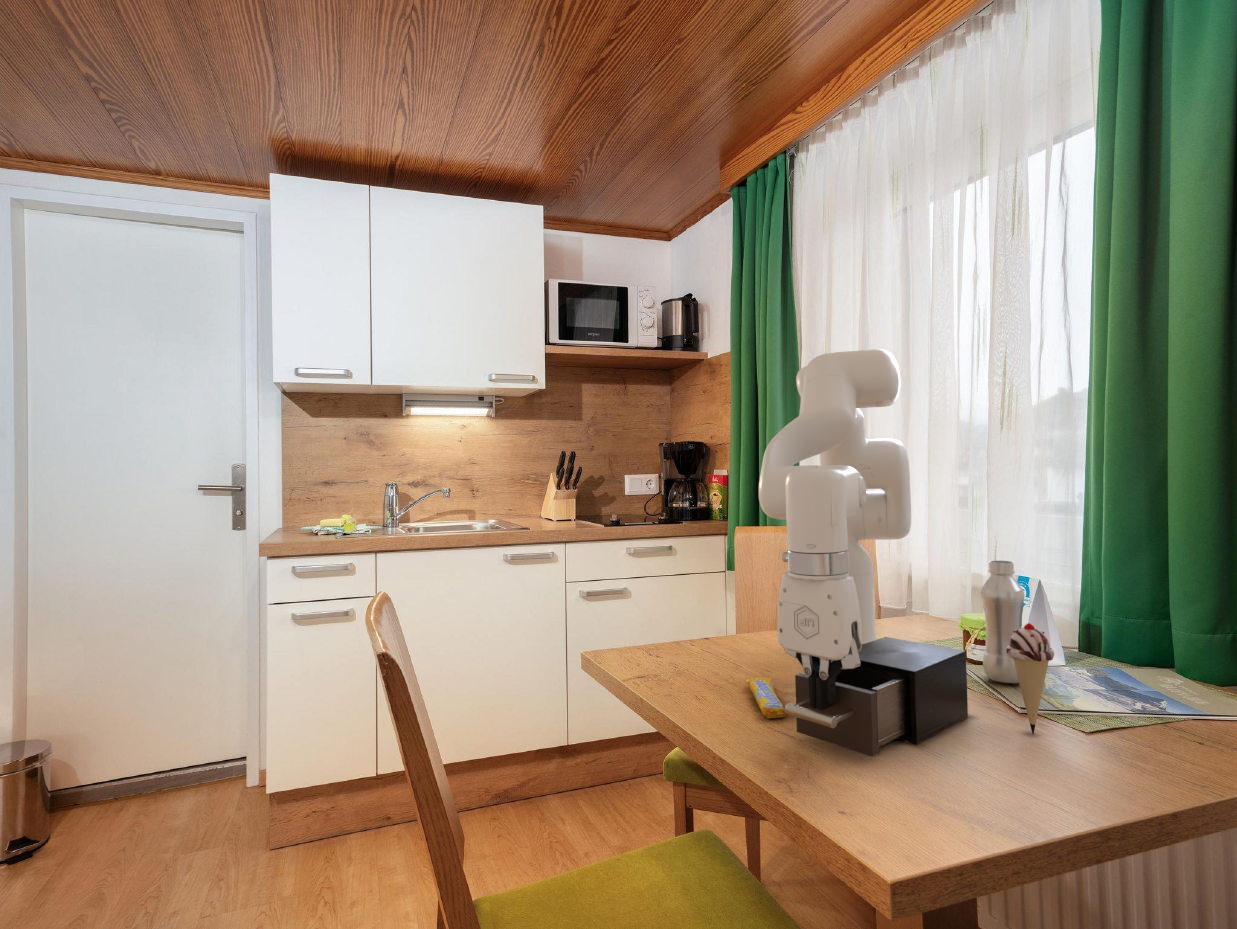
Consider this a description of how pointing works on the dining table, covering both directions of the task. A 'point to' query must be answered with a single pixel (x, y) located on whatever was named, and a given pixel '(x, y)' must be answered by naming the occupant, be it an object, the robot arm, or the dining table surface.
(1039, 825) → the dining table surface
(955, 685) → the small drawer cabinet
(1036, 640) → the ice cream cone
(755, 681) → the candy bar
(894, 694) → the pull-out drawer
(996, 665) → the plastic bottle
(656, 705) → the dining table surface
